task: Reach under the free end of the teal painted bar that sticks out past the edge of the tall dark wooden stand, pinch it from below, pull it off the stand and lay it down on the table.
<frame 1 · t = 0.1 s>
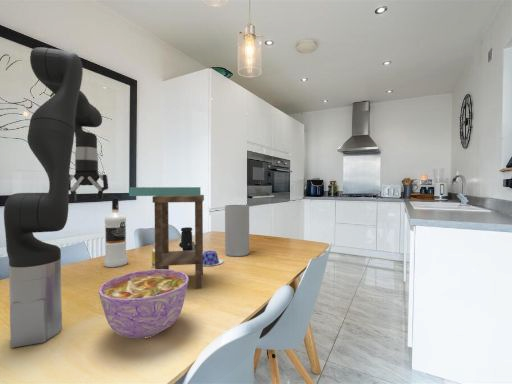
hand: (87, 200, 103), 29 cm above the table, tool pointing down, fingers open, 8 cm apart
teal bar: (163, 195, 94), point 31 cm above the table, touching stand
scope: (188, 255, 132), on the table
bowl of food: (146, 329, 64), on the table
blue teacup with saucer: (209, 263, 120), on the table
supplement bottle: (158, 266, 115), on the table
stand: (181, 281, 95), on the table
vodka: (116, 265, 117), on the table
cylinder vase: (237, 254, 136), on the table
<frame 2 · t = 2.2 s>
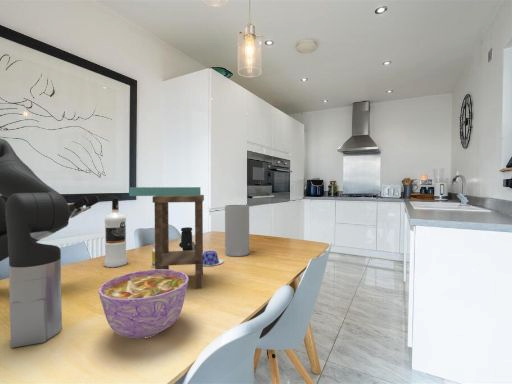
hand: (92, 199, 90), 30 cm above the table, tool pointing upward, fingers open, 8 cm apart
nothing on the table moved.
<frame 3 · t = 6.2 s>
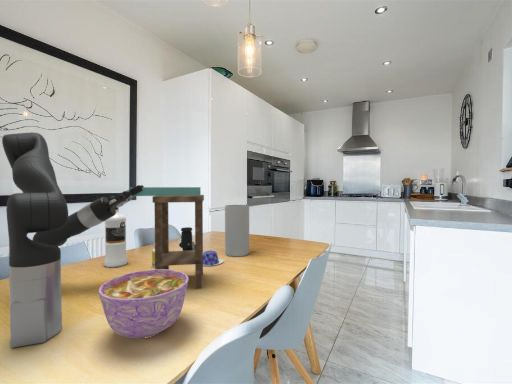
hand: (142, 187, 93), 34 cm above the table, tool pointing upward, fingers closed on teal bar, 3 cm apart
teal bar: (163, 195, 94), point 31 cm above the table, touching gripper, stand
everything else where it was.
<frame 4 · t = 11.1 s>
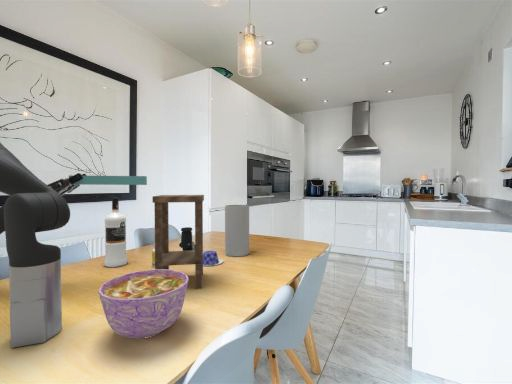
hand: (83, 175, 89), 38 cm above the table, tool pointing upward, fingers closed on teal bar, 3 cm apart
teal bar: (106, 184, 90), point 35 cm above the table, touching gripper
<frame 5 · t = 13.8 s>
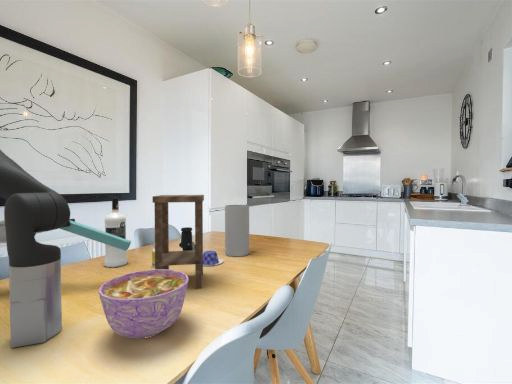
hand: (72, 222, 90), 23 cm above the table, tool horizontal, fingers closed on teal bar, 3 cm apart
teal bar: (89, 237, 91), point 17 cm above the table, tilted 23°, touching gripper
when the fingers open (13 cm above the table, at t = 16.0 s): teal bar drops 7 cm, on the table.
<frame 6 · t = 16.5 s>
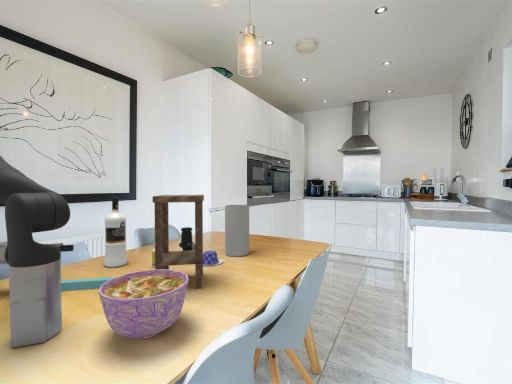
hand: (66, 250, 89), 13 cm above the table, tool horizontal, fingers open, 8 cm apart
teal bar: (77, 289, 90), on the table
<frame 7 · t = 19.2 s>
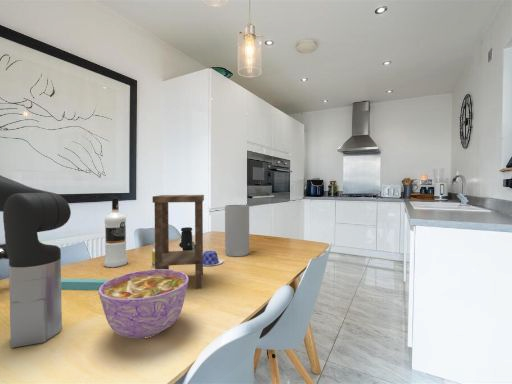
hand: (28, 251, 87), 13 cm above the table, tool horizontal, fingers open, 8 cm apart
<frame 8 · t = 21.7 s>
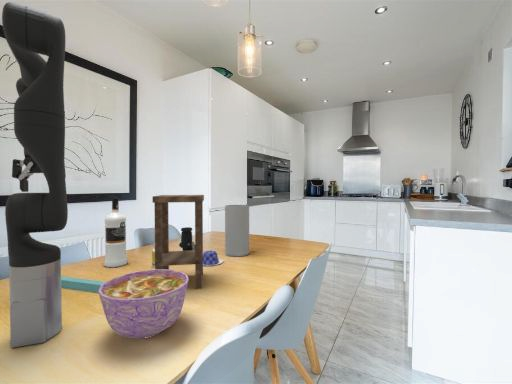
hand: (39, 191, 86), 33 cm above the table, tool pointing down, fingers open, 8 cm apart
at the end: teal bar on the table; teal bar touching table; the gripper is holding nothing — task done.
